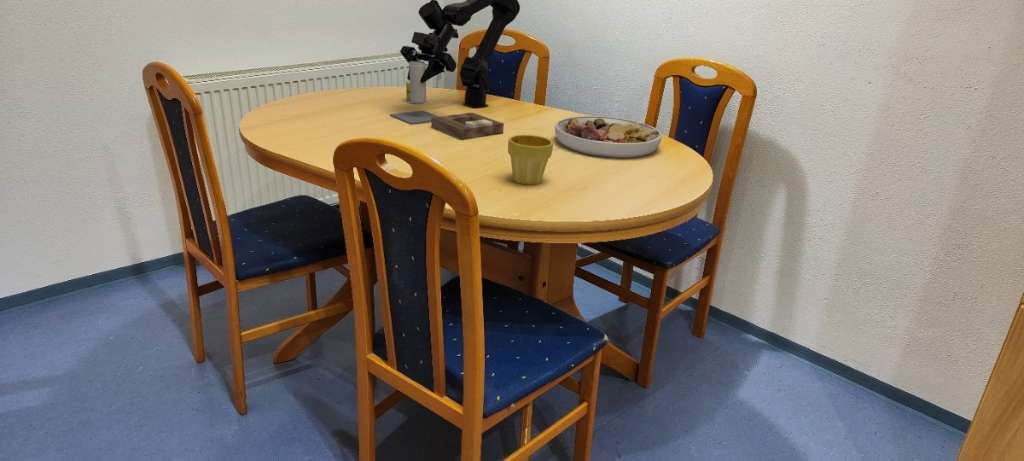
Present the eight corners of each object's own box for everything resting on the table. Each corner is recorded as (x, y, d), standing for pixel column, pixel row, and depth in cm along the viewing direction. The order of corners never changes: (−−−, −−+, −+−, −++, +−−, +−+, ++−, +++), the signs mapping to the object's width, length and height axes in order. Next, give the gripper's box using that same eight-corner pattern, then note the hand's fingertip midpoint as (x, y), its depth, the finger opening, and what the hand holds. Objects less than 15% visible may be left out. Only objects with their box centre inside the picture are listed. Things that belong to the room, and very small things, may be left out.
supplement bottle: (405, 100, 228) (405, 71, 224) (420, 100, 229) (421, 71, 226) (407, 104, 223) (407, 74, 219) (423, 104, 225) (424, 74, 221)
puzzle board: (472, 122, 206) (472, 109, 205) (503, 133, 196) (503, 120, 194) (431, 127, 197) (431, 114, 195) (461, 140, 187) (461, 126, 185)
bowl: (580, 126, 211) (583, 101, 207) (673, 145, 197) (677, 118, 194) (535, 146, 186) (537, 118, 183) (636, 169, 173) (641, 139, 170)
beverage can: (429, 102, 205) (428, 62, 201) (419, 104, 201) (418, 64, 197) (417, 100, 208) (416, 60, 203) (407, 102, 204) (405, 62, 199)
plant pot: (558, 181, 159) (562, 141, 155) (530, 190, 151) (533, 148, 148) (525, 170, 165) (528, 131, 161) (496, 178, 158) (499, 138, 154)
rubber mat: (423, 111, 214) (423, 110, 214) (444, 120, 206) (444, 118, 206) (390, 115, 207) (390, 114, 207) (411, 124, 199) (411, 123, 198)
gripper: (403, 18, 203) (378, 59, 199) (451, 25, 194) (425, 68, 190) (421, 42, 212) (397, 82, 208) (467, 50, 203) (443, 92, 199)
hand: (414, 80), depth 201 cm, fingers closed on beverage can, 5 cm apart
